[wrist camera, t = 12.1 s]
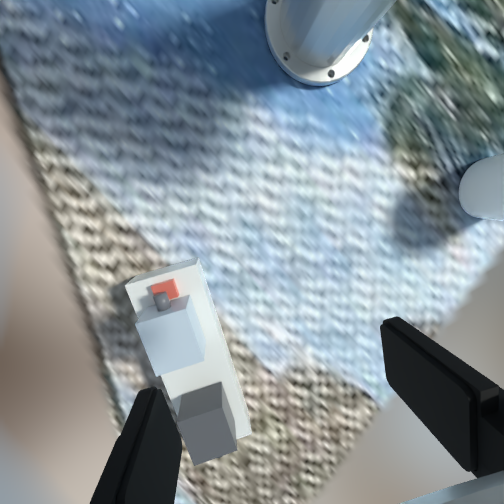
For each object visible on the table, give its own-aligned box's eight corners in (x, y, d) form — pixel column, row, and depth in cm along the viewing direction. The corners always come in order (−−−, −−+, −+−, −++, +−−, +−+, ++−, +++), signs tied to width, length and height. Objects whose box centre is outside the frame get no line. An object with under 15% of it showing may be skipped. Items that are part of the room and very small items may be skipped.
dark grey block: (185, 372, 35) (176, 422, 27) (220, 361, 35) (222, 407, 27) (202, 416, 36) (198, 476, 28) (235, 405, 37) (241, 461, 29)
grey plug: (151, 283, 32) (128, 309, 24) (189, 271, 32) (180, 293, 24) (170, 335, 33) (156, 376, 25) (207, 324, 34) (204, 360, 26)
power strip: (136, 275, 31) (121, 287, 27) (198, 257, 32) (195, 266, 27) (195, 428, 36) (192, 461, 32) (248, 409, 37) (252, 439, 32)
